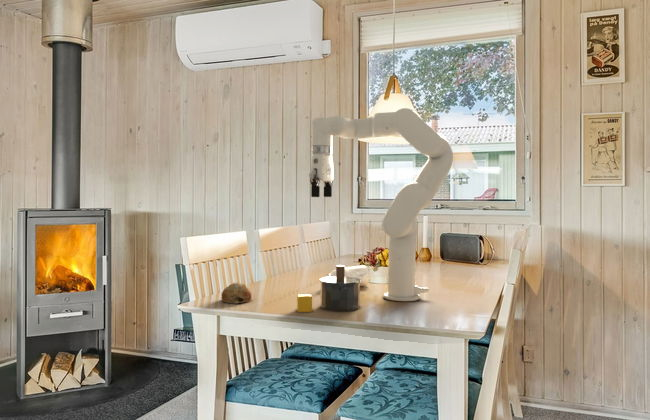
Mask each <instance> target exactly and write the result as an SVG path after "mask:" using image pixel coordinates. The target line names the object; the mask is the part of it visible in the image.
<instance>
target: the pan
mask: <svg viewBox="0 0 650 420" xmlns="http://www.w3.org/2000/svg"><path fill="white" fill-rule="evenodd" d="M360 287H361V286H360V283H357V284H348V285H335V284H326V283H322V282H320V308H321V309H323V310H326V311H329V312H330V311H331V312H351V311H356V310H358V309H360V303H361V302H360V300H361V299H360V297H361V296H360V292H361V291H360V290H361V288H360Z"/></svg>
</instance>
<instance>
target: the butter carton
mask: <svg viewBox="0 0 650 420" xmlns="http://www.w3.org/2000/svg"><path fill="white" fill-rule="evenodd" d="M296 303H297V304H296V311H297V312H298V313H312V312H313V296H312V294H310V293H309V294H308V293H305V294H304V293H303V294H302V293H301V294H297V295H296Z"/></svg>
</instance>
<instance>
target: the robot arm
mask: <svg viewBox="0 0 650 420" xmlns="http://www.w3.org/2000/svg"><path fill="white" fill-rule="evenodd" d="M333 137H338V138H341V139H345V140H346V139H347V140H348V139H349V140H353V139H356V140H357V139H371V138H372V139H373V138H386V137H388V138H389V137H402V138H403V139H404V140H405V141H406V142H407V143H409V144H410V145H411V146H412V147H413V148H414V149H415V150H416V151H417V152H419V153H420V154H421V155H423V156H426V157H427V161H426V163H425V164H424V165H423V166H422V168H421V169H420V171H419V173H418V174H417V176H416V177H415V179H414V181H413V182H409V183H407V184H405V185H403V186H402V188H401V189H399V191H398V192H397V194H396V195H395V197H394V199H393V201H392V202H391V204H390V205H389V207H388V208H387V210H386V211H385V213H384V214H383V217H382V221H381V227H382V230H383V232H384V233H385V235H386V236H388V237H389V239H388V262H387V263H388V264H387V265H388V266H387V267H388V270H387V292H384V293H383V298H384V299H386V300H388V301H392V302H393V301H395V302H414V301H418V300H419V299H420V295H421V294H429V292H430V289H429V287H424V286H418V285H416V262H417V261H416V260H417V259H416V257H417V255H416V254H417V237H418V228H419V227H418V226H419V225H418V220H417V217H418V215H419V214H420V212H421V211H422V210H425V209H426V208H428V207H429V205H430V204H431V203H432V201H433V199H434V198H435V196H436V194H437V193H438V191H439V190H440V188H441V186H442V184H443V182H444V181H445V179H446V178H447V176H448V175H449V172H450V170H451V169H452V166H453V162H454V152H453V148H452V146H451V144H450V142H449V140H448V139H447V138H446V137H445V136H444V135H442V134H441V133H439V132H438V131H436V130H434V128H432V127H431V126H430V125H428V124H427V123H426V122H425V121H424V120H423V119H422V117H421V115H420V114H419V113H418V112H417V111H414V110H413V109H411V108H407V107H405V108H404V107H403V108H400V109H397V110H396V111H389V112H376V113H374V114H373V115H372V116H369V117H365V118H364V117H363V118H348V117H345V116H342V115H333V116H328V117H315V118H313V119H312V121H311V165H310V172H309V173H308V177H309V182H310V186H311V187H310V194H311V195H310V197H311V198H320V196H321V193H320V190H321V188H320V187H321V186H320V183H321V182H322V183H323V185H324V186H323V197H324V198H331V197H332V196H333V195H332V194H333V182H334V176H335V175H334V160H333Z"/></svg>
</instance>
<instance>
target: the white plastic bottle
mask: <svg viewBox="0 0 650 420" xmlns="http://www.w3.org/2000/svg"><path fill="white" fill-rule="evenodd" d="M370 271H371V269H370V268H369V267H368V266H367V265H356V266H347V267H346V266H345V276H346V277H355V278H359V279H361V282H360V287H363V286H367V285H369V283H370V282H371V278H372V276H371V275H372V274H371V272H370ZM332 276H336V269H334V270H332V271H331V272H330V273H327V274H326V275H325V276H324V277H332Z"/></svg>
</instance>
